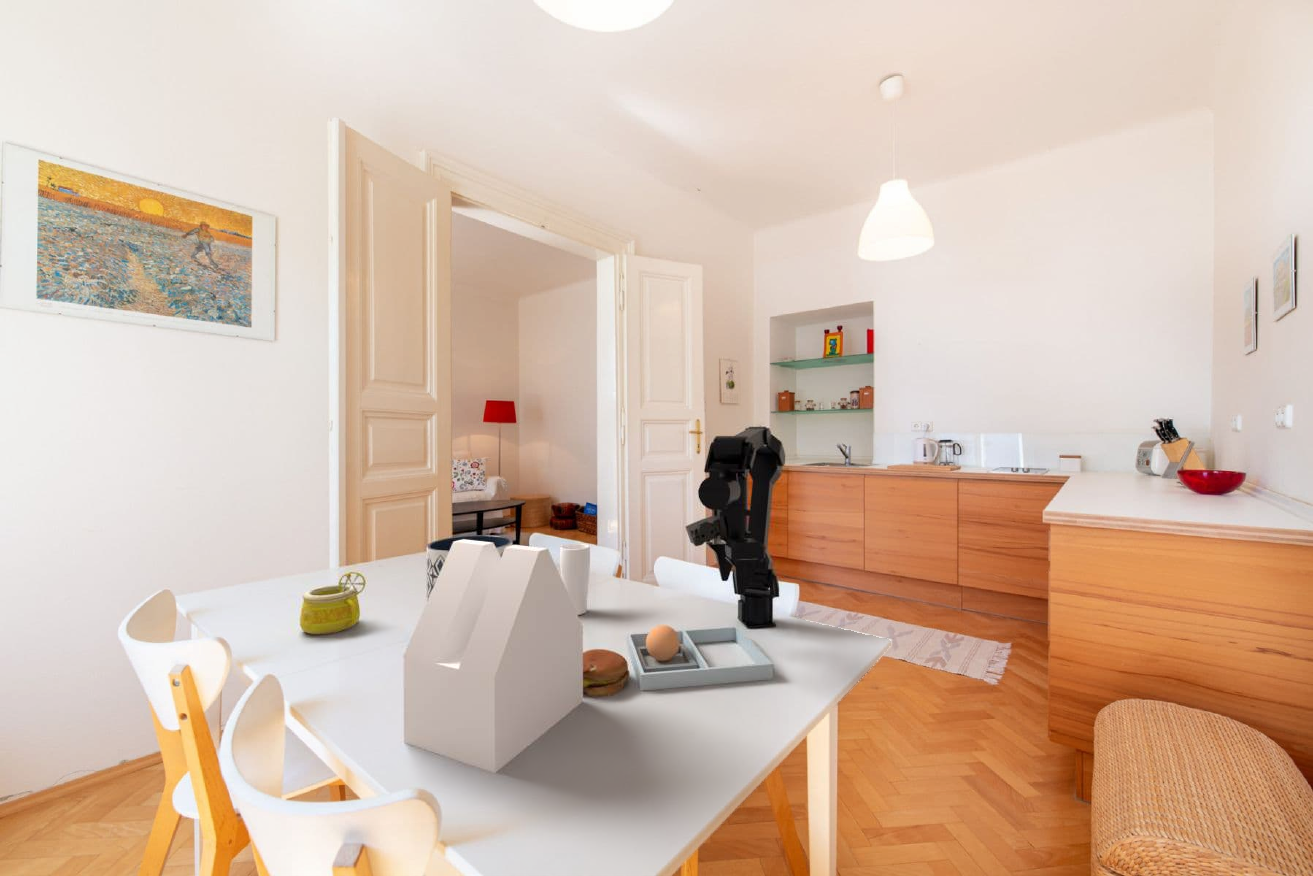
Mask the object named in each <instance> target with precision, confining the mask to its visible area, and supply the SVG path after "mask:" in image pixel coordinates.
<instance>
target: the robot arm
mask: <svg viewBox="0 0 1313 876" xmlns="http://www.w3.org/2000/svg"><path fill="white" fill-rule="evenodd" d="M785 463H786V452H785V449H784V446H783V442H782V441H781V440H780V439H778V438H777V437H776V436H775V435H773V434H772V432H771V429H770V428H769V427H766V426H748V427H746V428H745V430H743V431H741V432H739V433H737V434H735V435H716V436H715V437H714V438H713V440H712V441H711V443H710V445H709V449H708V453H707V457H706V462H705V466H704V469H703V472H704V473H705V474H706V473H707V474H708V477H706V478H704V479H703V480H702V481H701V484H699V487H698V491H697V494H698V498H699V499H698V500H699V501H700V503H701V504H702V505H703V506H704V507H705V508H706V509H708V510H711V516H708V517H704V518H702V519H699V520H697V521H695V522H692V523H690V524H688V525H686V526H685V530H686V532H687V536H688V538H689V541H690V543H691V544H692V545H694V546H695V547H700V546H702V545H704V543H705V544H706V545H707V546H708V547H709V548H710V549H711V551H713V553H714V554H715V559H716V562H717V568H718V570H719V574H720V579H721V581H723V582H728V581H729V578H730V575H731V571H732V583H733V590H734V595H739V597H740V599H738V600H737V619H738V620H739V621H740V622H741V623H742V624H743V625H744V627H745V628H747V629H755V628H766V627H768V628H769V627H776V626H777V623H776V622H775V621H774V618H773V617H774V609H773V608H774V603H773V601H774V598H779V597H780V584H779V583H780V582H779V581H778V580H779V579H778V577H777V573H776V570H775V569H774V566H775V565H774V562H773V559H772V557H771V555H770V553H769V551H768V543H769V533H770V523H771V510H772V503H773V502H772V500H773V491H774V490H773V488H774V484H776V483H777V481H778V480H779V478H780V477H781V476H782V473H783V472H782V471H783V467H784V466H785V465H786V464H785ZM749 476H750V478H751V480H752V484H751V486H752V487H751V492H750V493H751V495H750V503H749V500H748V497H749V496H748V495H749V494H748V493H749V492H748V491H749V490H748V489H749V488H748V487H749V486H748V483H749V479H748V477H749ZM748 503H749V504H748ZM748 505H749V506H748Z"/></svg>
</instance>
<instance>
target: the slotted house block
mask: <svg viewBox="0 0 1313 876" xmlns="http://www.w3.org/2000/svg"><path fill="white" fill-rule="evenodd" d="M418 619H419V620H418V621H417V624H416V626H415V629H414V630H413V634H412V635H411V637H410V640H409V642H408V644H407V646H406V649H405V652H404V654H403V743H405V744H408V745H411V746H413V747H417V748H420V749H423V750H425V751H428V752H431V753H435V754H438V755H441V756H443V757H446V758H448V759H452V760H455V761H458V762H461V763H463V764H467V765H469V766H473V767H476V768H477V769H478V768H479V769H481V770H484V771H488V772H489V773H490V772H491V773H493V774H496V773H497V772H499V770H501V769H502V768H503V767H505V766H506V765H507V764H508V763H509V762H510V761H512V760H513V759H514V758H515V757H517V756H518V755H519V754H520V753H521V752H523V751H524V750H525V749H526V748H528V747H529V746H530V745H531V744H532V743H534V742H535V741H536V740H537V739H538V738H540V737H541V736H542V735H544V734H545V733H546V732H548V731H549V730H550V729H551V728H552V727H554V725H556V724H557V723H558V722H559V721H561V720H562V719H563V718H564V717H566V716H567V715H568V714H569V713H570V712H572V711H573V710H574V709H576V708H577V707H578V706H579V705H581V704H582V703H583V702H584V692H583V652H584V636H583V635H584V629H583V628H584V625H583V624H582V621H581V619H580V617H579V615H577V612H576V610H575V608H574V606H573V603H572V601H571V599H570V597H569V594H568V592H567V590H566V588H565V586H564V583H563V581H562V579H561V573H560V571H559V570H558V569H557V565H556V563H555V562H554V559H553V558H552V555H551V552H550V550H549V548H548V547H547V548H546V547H538V546H529V545H528V546H527V545H521V544H513V545H512V546H509V547H505V549H504V552H503V555H502V557H500V555H499V553H498V551H497V549H496V547H495V545H494V543H493V542H483V541H474V540H465V539H463V540H458V541H454V542H453V544H452V546H451V548H450V551H449V553H448V555H447V557H446V560H445V562H444V564H443V567H442V569H441V571H440V573H439V576H438V578H437V580H436V583H435V585H434V587H433V589H432V592H431V594H430V596H429V599H428V601H427V600H426V603H425V605H424V608H423V611H422V612H421V614H420V617H419V618H418Z"/></svg>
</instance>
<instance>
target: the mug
mask: <svg viewBox="0 0 1313 876" xmlns="http://www.w3.org/2000/svg"><path fill="white" fill-rule="evenodd" d="M352 574H355V575H356V576H355V578H354V579H353V582H352V580H351V577H352ZM344 577H345V578H346V580H345V582H342V580H343V579H344ZM359 577H360V578H361V579H362V581H363V582H356V580H357V579H358V578H359ZM348 582H349V583H348ZM355 585H360V586H362V588H361V590H360V591H358V588H356V587H355ZM365 587H366V578H365V576H364V575H362V574H361V572H358V571H349V572H345V574H343V575H342V576H341V577H340V578H339V581H338V584H332V585H324V586H323V585H322V586H319V587H315V588H312V589H310V590H308V591H306V592H305V593H304V594H303V595H302V598H303V599H302V600H303V602H302V604H301V611H300V617H299V626H300V628H301V630H302V631H304V633H308V634H311V635H327V634H334V633H338V632H342V631H344V630H347V629H350V628H351V627H353V626H355V625H356V624H357V623H358V621H359V620H360V616H361V610H360V604H359V598H358V595H359V594H361V593H362V592H363V591H364V589H365Z"/></svg>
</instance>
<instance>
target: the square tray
mask: <svg viewBox="0 0 1313 876" xmlns="http://www.w3.org/2000/svg"><path fill="white" fill-rule="evenodd" d="M635 649H636V652H637V655H638V658H639V660H640V663H641V666H642V669H643V671H644V673H650V672H662V671H674V670H687V669H698V665H697V663H696V662H695V660H694V658H693V657H692V655H691V653H690V652H689V650H688V648H687V647H686V645H685V643H684V644H680V645H679V650H678V652H677V654H676V655H675V656H674V657H673V658H671V659H670V660H667V661H659V660H656V659H654V658H653V657H652V656H651V655H650V654H649V652H648V650H647V647H646V646H643V647H635Z"/></svg>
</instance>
